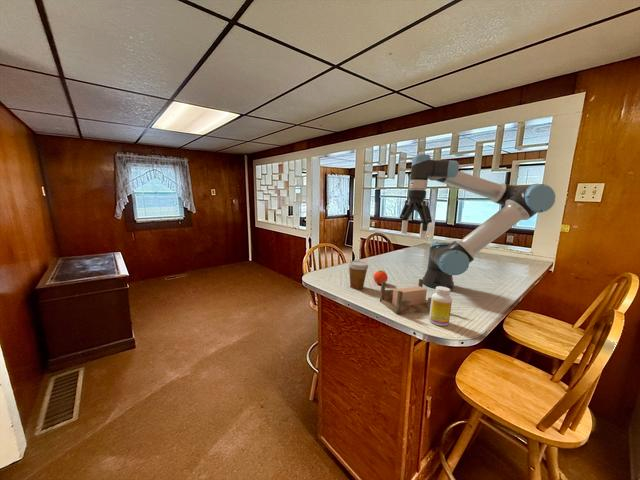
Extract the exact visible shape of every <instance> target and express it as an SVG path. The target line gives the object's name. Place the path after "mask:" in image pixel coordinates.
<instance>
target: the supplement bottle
mask: <svg viewBox="0 0 640 480" xmlns="http://www.w3.org/2000/svg"><path fill="white" fill-rule="evenodd" d="M450 293H451V289H449V288H446V287H442V286H437V287H436V288H435V292H434V293H433V294H432V295H431V297H432V298H431V297H430V298H431V306H430V312H429V316H428V320H429V322H430V323H431V324H433V325H435V326H439V327H446V326H448V325H449V324H450V317H451V311H452V303H453V299H452V297H451V295H450Z"/></svg>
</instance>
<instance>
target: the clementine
mask: <svg viewBox="0 0 640 480" xmlns="http://www.w3.org/2000/svg"><path fill="white" fill-rule="evenodd" d="M373 280H374V282H375V283H376V284H378V285H381V283H382V281H385V282H386V283H387V281H388V274H387V273H386V271H385V270H378V271H375V272H374V275H373Z"/></svg>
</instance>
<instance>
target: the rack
mask: <svg viewBox="0 0 640 480" xmlns="http://www.w3.org/2000/svg"><path fill="white" fill-rule="evenodd" d="M386 283H387V281H386V282H385V281H382V283H381V284H380V292H379V293H380V294H379V295H380V296H379V302H380V303H381V304H382V305H383V306H385V307H387V309H389V310H391V311H392V312H393V313H394V314H396V315H399V316H400V315H408V314H417V313H418V314H419V313H430V306H431V298H432V296H431V297H427V299H426V301H425V303H423V304H416V305H410V300H409V299H406V300H402V293H403V292H402V291H398V296H397V306H396V305H394V304H392V299H393V289H386ZM423 285H424V284H423V278H419V279H418V285H417V286H420V287H423Z"/></svg>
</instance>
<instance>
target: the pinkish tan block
mask: <svg viewBox="0 0 640 480" xmlns="http://www.w3.org/2000/svg"><path fill="white" fill-rule="evenodd" d="M398 291H402V292H403V293H402V300H406V299H409V300H410V305H416V304H423V303H425V301H426V300H427V291H428V289H427V288H424V287H423V286H422V287H420V286H418V285H417V286H410V287H402V288H401V287H400V288H394V289H393V299H392V304H394V305H396V306H397V296H398Z"/></svg>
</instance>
